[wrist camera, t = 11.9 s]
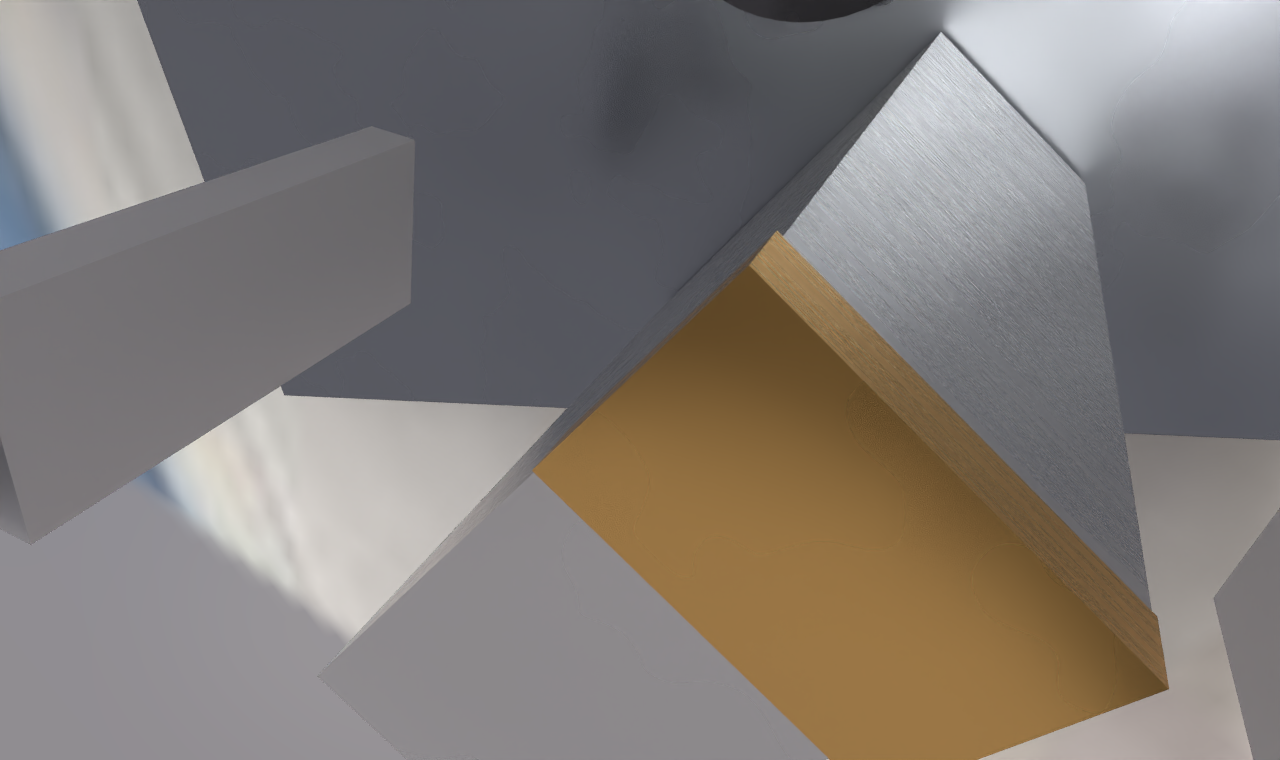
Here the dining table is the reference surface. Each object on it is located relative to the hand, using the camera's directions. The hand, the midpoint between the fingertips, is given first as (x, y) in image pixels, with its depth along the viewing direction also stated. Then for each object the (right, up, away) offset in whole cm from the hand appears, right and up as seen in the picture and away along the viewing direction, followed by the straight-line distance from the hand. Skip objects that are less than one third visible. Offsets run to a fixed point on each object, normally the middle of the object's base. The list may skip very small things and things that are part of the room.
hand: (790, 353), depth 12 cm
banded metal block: (+2, +2, +4) cm, 4 cm away
